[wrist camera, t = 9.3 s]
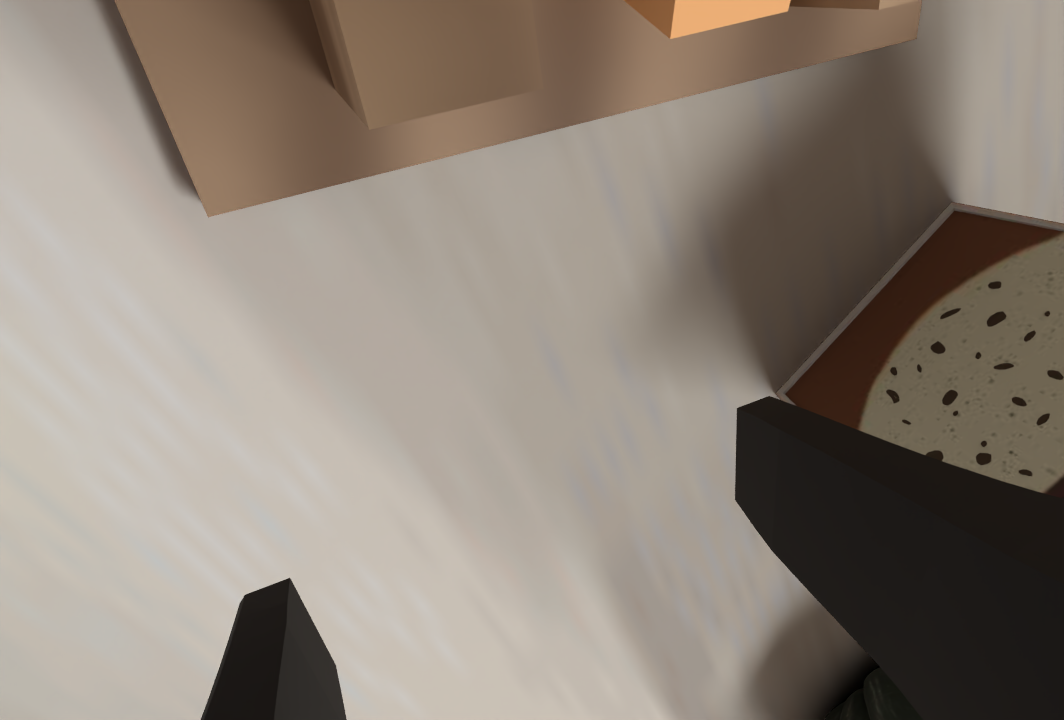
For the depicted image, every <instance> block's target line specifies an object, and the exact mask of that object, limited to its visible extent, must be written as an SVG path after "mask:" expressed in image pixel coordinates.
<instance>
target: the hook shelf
mask: <svg viewBox="0 0 1064 720" xmlns="http://www.w3.org/2000/svg"><path fill="white" fill-rule="evenodd" d="M114 1H115V3H116V5H117V8H118V10H119V12H120V15H121V17H122V19H123V22H124V24H125V26H126V29H127V31H128V33H129V36H130V38H131V40H132V42H133V45H134V47H135V49H136V52H137V54H138V56H139V59H140V61H141V63H142V66H143V68H144V70H145V72H146V75H147V77H148V79H149V82H150V84H151V86H152V89H153V91H154V93H155V96H156V98H157V100H158V103H159V105H160V107H161V109H162V112H163V114H164V116H165V119H166V121H167V123H168V126H169V128H170V130H171V133H172V135H173V137H174V140H175V142H176V144H177V146H178V149H179V151H180V153H181V156H182V158H183V160H184V163H185V165H186V167H187V170H188V172H189V174H190V176H191V179H192V181H193V183H194V186H195V188H196V190H197V193H198V195H199V197H200V200H201V202H202V204H203V207H204V209H205V211H206V213H207V216H208V217H210V216H214V215H218V214H222V213H226V212H230V211H234V210H238V209H242V208H246V207H250V206H254V205H258V204H262V203H266V202H270V201H274V200H278V199H282V198H286V197H290V196H294V195H298V194H302V193H306V192H310V191H314V190H318V189H322V188H326V187H330V186H334V185H338V184H342V183H346V182H350V181H354V180H358V179H361V178H365V177H369V176H373V175H377V174H381V173H385V172H389V171H393V170H397V169H401V168H405V167H409V166H413V165H417V164H421V163H425V162H429V161H433V160H437V159H441V158H445V157H449V156H453V155H457V154H461V153H465V152H469V151H473V150H477V149H481V148H485V147H489V146H493V145H497V144H501V143H505V142H509V141H512V140H516V139H520V138H524V137H528V136H532V135H536V134H540V133H544V132H548V131H552V130H556V129H560V128H564V127H568V126H572V125H576V124H580V123H584V122H588V121H592V120H596V119H600V118H604V117H608V116H612V115H616V114H620V113H624V112H628V111H632V110H636V109H640V108H644V107H648V106H652V105H656V104H660V103H663V102H667V101H671V100H675V99H679V98H683V97H687V96H691V95H695V94H699V93H703V92H707V91H711V90H715V89H719V88H723V87H727V86H731V85H735V84H739V83H743V82H747V81H751V80H755V79H759V78H763V77H767V76H771V75H775V74H779V73H783V72H787V71H791V70H795V69H799V68H803V67H807V66H811V65H815V64H818V63H822V62H826V61H830V60H834V59H838V58H842V57H846V56H850V55H854V54H858V53H862V52H866V51H870V50H874V49H878V48H882V47H886V46H890V45H894V44H898V43H902V42H906V41H910V40H914V39H916V38H917V31H918V25H919V18H920V11H921V4H922V0H791V1H790V5H789V9H788V11H787V12H783V13H779V14H774V15H770V16H766V17H762V18H757V19H753V20H749V21H745V22H741V23H736V24H732V25H728V26H724V27H719V28H715V29H711V30H707V31H703V32H698V33H694V34H690V35H686V36H681V37H677V38H673V39H669V38H668V37H667V36H666V35H665V34H663V33H662V32H661V31H660V30H659V29H657V28H656V27H655V26H654V25H653V24H651V23H650V22H649V21H648V20H647V19H645V18H644V17H643V16H642V15H641V14H639V13H638V12H637V11H636V10H635V9H633V8H632V7H631V6H630V5H629V4H627V3H626V2H625V1H624V0H114Z"/></svg>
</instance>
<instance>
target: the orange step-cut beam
mask: <svg viewBox="0 0 1064 720" xmlns="http://www.w3.org/2000/svg"><path fill="white" fill-rule="evenodd" d="M624 1H625V2H626V3H627V4H629V5H630V6H631V7H632V8H633V9H635V10H636V11H637V12H638V13H639V14H641V15H642V16H643V17H644V18H645V19H647V20H648V21H649V22H650V23H651V24H653V25H654V26H655V27H656V28H657V29H659V30H660V31H661V32H662V33H663V34H665V35H666V36H667V37H668V38H669V39H673V38H677V37H681V36H686V35H690V34H694V33H698V32H703V31H707V30H711V29H715V28H719V27H724V26H728V25H732V24H736V23H741V22H745V21H749V20H753V19H757V18H762V17H766V16H770V15H774V14H779V13H783V12H787V11H788V9H789V5H790V1H791V0H624Z"/></svg>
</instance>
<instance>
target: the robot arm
mask: <svg viewBox="0 0 1064 720" xmlns="http://www.w3.org/2000/svg"><path fill="white" fill-rule="evenodd" d="M735 500H736V502H737V503H738V504H739V506H740V507H741V509H742V510H743V512H744V513H745V514H746V516H747V517H748V519H749V520H750V522H751V523H752V524H753V526H754V527H755V529H756V530H757V531H758V533H759V534H760V535H761V537H762V538H763V539H764V541H765V542H766V543H767V545H768V546H769V547H770V549H771V550H772V551H773V552H774V553H775V555H776V556H777V557H778V558H779V559H780V560H781V561H782V562H783V563H784V564H785V566H786V567H787V568H788V569H789V570H790V571H791V572H792V573H793V574H794V575H795V576H796V577H797V579H798V580H799V581H800V582H801V583H802V584H803V585H804V586H805V587H806V588H807V589H808V590H809V591H810V593H811V594H812V595H813V596H814V597H815V598H816V599H817V600H818V601H819V602H820V603H821V604H822V605H823V606H824V607H825V608H826V610H827V611H828V612H829V613H830V614H831V615H832V616H833V617H834V618H835V619H836V620H837V621H838V622H839V623H840V624H841V626H842V627H843V628H844V629H845V630H846V631H847V632H848V633H849V634H850V635H851V636H852V637H853V638H854V639H855V640H856V641H857V643H858V644H859V645H860V646H861V647H862V648H863V649H864V650H865V651H866V652H867V653H868V654H869V655H870V656H871V657H872V658H873V660H874V661H875V662H876V663H877V664H878V665H879V666H880V668H881V669H882V670H883V671H884V672H885V673H886V674H887V676H888V677H889V678H890V679H891V680H892V681H893V682H894V684H895V685H896V686H897V687H898V688H899V690H900V691H901V692H902V693H903V695H904V696H905V697H906V699H907V700H908V701H909V702H910V704H911V705H912V706H913V707H914V709H915V710H916V711H917V713H918V714H919V715H920V716H921V718H922V719H923V720H1064V499H1063V498H1060V497H1056V496H1052V495H1049V494H1045V493H1041V492H1037V491H1034V490H1030V489H1027V488H1024V487H1020V486H1017V485H1014V484H1010V483H1007V482H1004V481H1000V480H997V479H994V478H991V477H988V476H985V475H982V474H979V473H976V472H973V471H970V470H967V469H964V468H961V467H958V466H955V465H952V464H949V463H946V462H943V461H940V460H937V459H935V458H932V457H929V456H926V455H923V454H921V453H918V452H915V451H912V450H910V449H907V448H904V447H902V446H899V445H896V444H894V443H891V442H888V441H886V440H883V439H880V438H878V437H875V436H873V435H870V434H867V433H865V432H862V431H860V430H857V429H855V428H852V427H849V426H847V425H844V424H842V423H839V422H837V421H834V420H832V419H829V418H827V417H824V416H821V415H819V414H816V413H814V412H811V411H809V410H806V409H803V408H801V407H798V406H795V405H793V404H790V403H787V402H785V401H782V400H779V399H776V398H773V397H770V396H768V397H765V398H763V399H760V400H757V401H755V402H752V403H750V404H747V405H744V406H742V407H739V408H737V435H736V482H735ZM201 720H346V715H345V709H344V704H343V699H342V694H341V689H340V684H339V679H338V674H337V669H336V665H335V663H334V661H333V659H332V657H331V655H330V653H329V651H328V650H327V648H326V646H325V644H324V642H323V640H322V638H321V636H320V634H319V632H318V630H317V629H316V627H315V625H314V623H313V621H312V619H311V617H310V615H309V613H308V611H307V609H306V608H305V606H304V604H303V602H302V600H301V598H300V596H299V594H298V592H297V590H296V588H295V587H294V585H293V583H292V581H291V579H290V578H288V579H286V580H283V581H281V582H278V583H275V584H273V585H270V586H267V587H265V588H262V589H259V590H257V591H254V592H252V593H249V594H246V595H245V596H244V598H243V599H242V601H241V602H240V604H239V608H238V611H237V614H236V618H235V621H234V624H233V627H232V631H231V634H230V637H229V640H228V643H227V646H226V649H225V652H224V655H223V658H222V661H221V664H220V667H219V670H218V673H217V676H216V679H215V682H214V685H213V688H212V690H211V693H210V696H209V699H208V702H207V704H206V707H205V710H204V712H203V715H202V718H201Z"/></svg>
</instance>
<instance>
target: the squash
mask: <svg viewBox="0 0 1064 720" xmlns="http://www.w3.org/2000/svg"><path fill="white" fill-rule="evenodd" d="M825 720H923V719H922V718H921V716H920V715H919V714H918V713H917V711H916V710H915V709H914V707H913V706H912V705H911V704H910V702H909V701H908V700H907V699H906V697H905V696H904V695H903V693H902V692H901V691H900V690H899V688H898V687H897V686H896V685H895V684H894V682H893V681H892V680H891V679H890V678H889V677H888V676H887V674H886V673H885V672H884V671H883V670H882V669H881V668H877V669H875V670H874V671H872V672H871V673H870V674H868V676H867V677H866V679H865V680H864V688H862V689H858V690H856V691H855V692H854V693H852V694H851V695H850V696H849V697H848V698H847V700H846V701H844V702H843V703H841V704H840V705H838V706H837V707H835V708H834V709H833V710H832V711H831V712H830V713H829V714H828V715H827V717H826V718H825Z"/></svg>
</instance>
